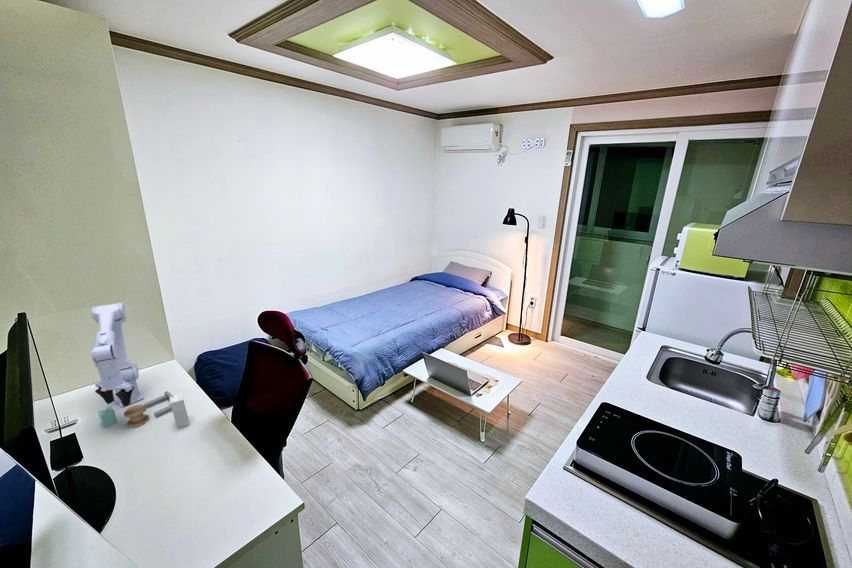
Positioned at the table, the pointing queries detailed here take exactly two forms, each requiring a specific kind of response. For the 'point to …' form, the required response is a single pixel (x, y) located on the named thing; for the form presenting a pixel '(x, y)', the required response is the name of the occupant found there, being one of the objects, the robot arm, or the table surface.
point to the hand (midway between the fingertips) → (118, 403)
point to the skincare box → (179, 410)
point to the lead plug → (107, 417)
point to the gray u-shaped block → (159, 400)
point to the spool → (136, 416)
